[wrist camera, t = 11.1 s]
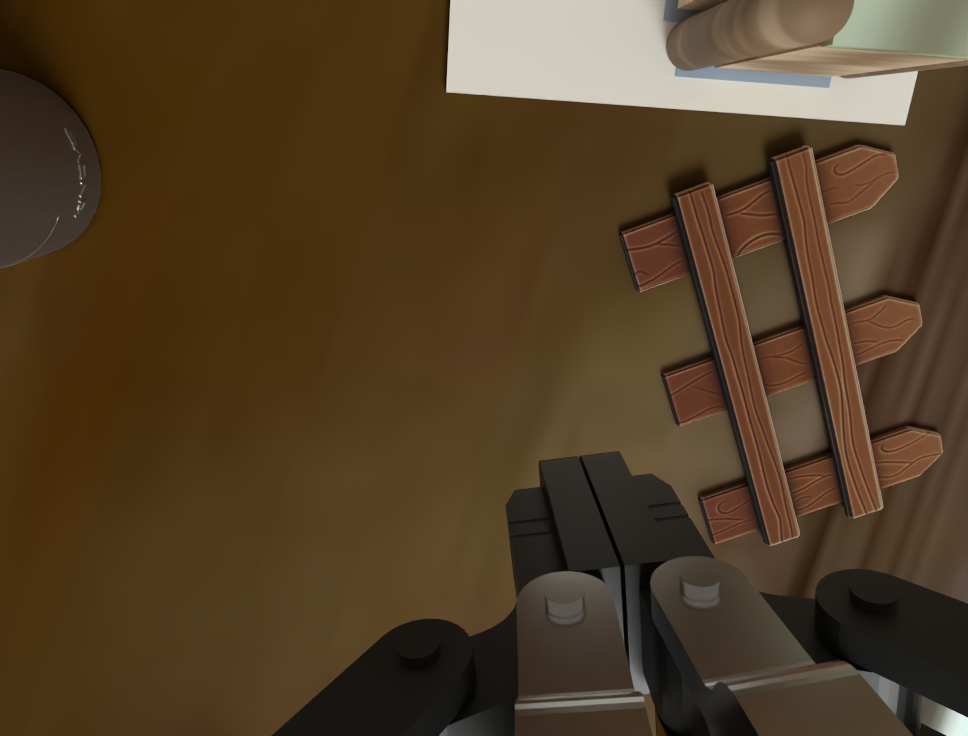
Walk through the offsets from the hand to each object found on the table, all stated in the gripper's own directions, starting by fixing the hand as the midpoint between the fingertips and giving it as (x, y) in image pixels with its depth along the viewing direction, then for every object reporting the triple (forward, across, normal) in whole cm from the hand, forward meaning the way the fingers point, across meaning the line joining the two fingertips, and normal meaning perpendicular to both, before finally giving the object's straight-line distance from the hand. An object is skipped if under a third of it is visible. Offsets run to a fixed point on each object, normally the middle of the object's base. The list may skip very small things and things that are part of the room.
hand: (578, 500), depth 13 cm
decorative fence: (+28, -17, +8) cm, 34 cm away
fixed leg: (+26, -15, -9) cm, 32 cm away
